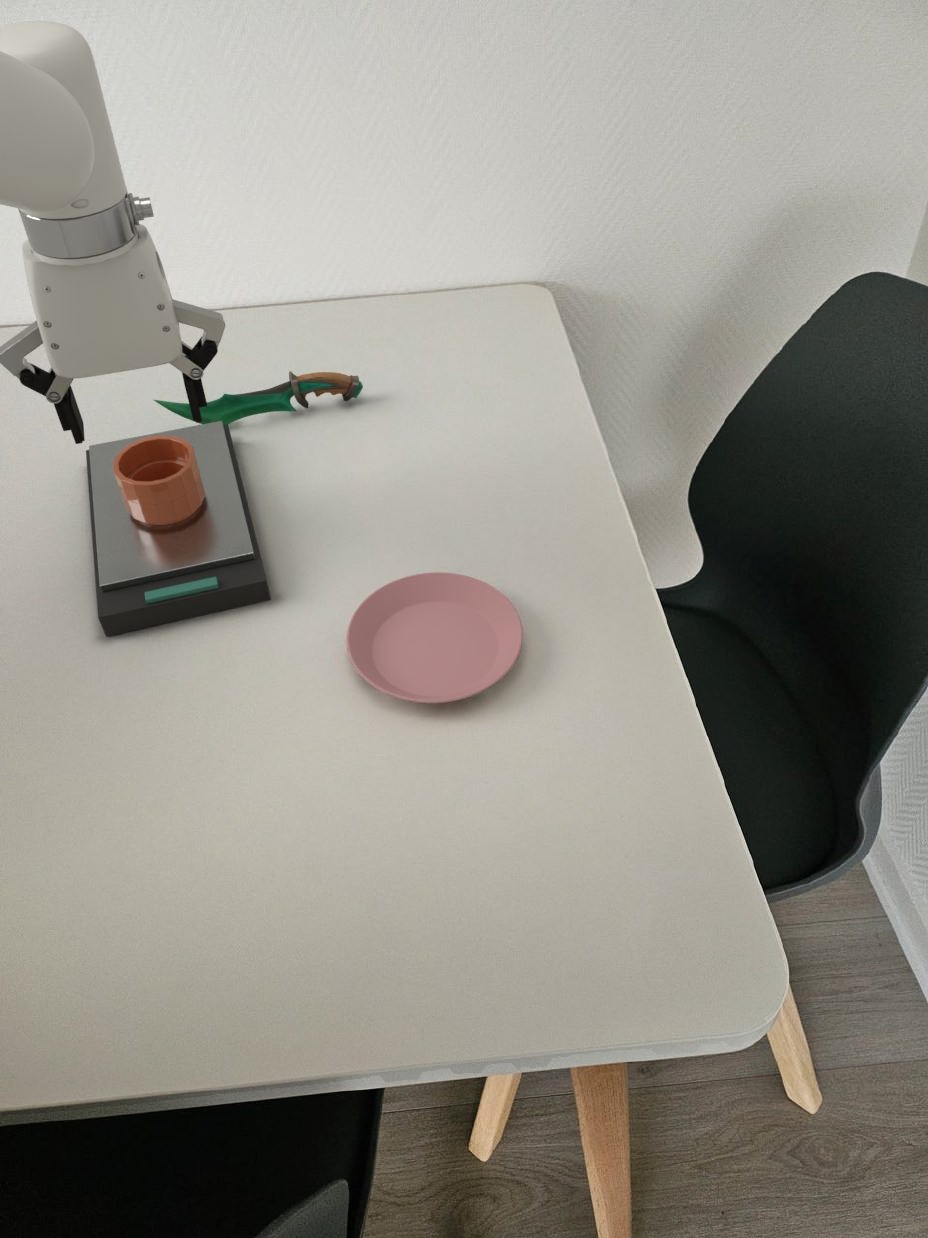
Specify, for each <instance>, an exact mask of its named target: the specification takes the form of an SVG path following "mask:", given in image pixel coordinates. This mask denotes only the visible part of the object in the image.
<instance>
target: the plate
mask: <svg viewBox="0 0 928 1238" xmlns="http://www.w3.org/2000/svg"><path fill="white" fill-rule="evenodd" d="M523 640H524V630H523V624H522V620H521V617H520V614H519V612H518V611H517V609H516V608H515V606H514V605H513V604H512V602H511V601H510V599H508V597H506V596H505V595H504V593H502V592H501V591H500V590H498V589H496V588H495V587H494V586H492V585H490V584H488V583H487V582H484V581H482V580H480V579H477V578H475V577H473V576H472V577H471V576H468V575H465V574H460V573H454V572H443V571H442V572H440V571H439V572H438V571H437V572H422V573H416V574H412V575H407V576H404V577H401V578H398V579H396V580H393V581H390V582H389V583H387V584H385V585H383V586H380V587H379V588H378V589H376V590H375V591H374V592H372V593H371V594H370V595H369V596H367V597H366V598H365V599H364V600H363V601H362V602H361V603H360V604H359V605H358V607H357V608H356V610H355V611H354V613H353V615H352V616H351V618H350V621H349V623H348V627H347V631H346V649H347V650H346V651H347V654H348V657H349V660H350V662H351V664H352V666H353V667H354V669H355V671H356V672H357V673H358V675H360V677H362V679H363V680H364V681H366V682H367V683H368V684H369V685H370V686H372V687H374V689H376V690H377V691H380V692H382V693H383V694H385V695H388V696H391V697H393V698H396V699H399V700H402V701H407V702H412V703H419V704H444V703H451V702H457V701H461V700H466V699H468V698H471V697H473V696H476V695H478V694H480V693H483V692H485V691H486V690H488V689H490V688H491V687H493V686H494V685H495V684H498V682H500V681H501V680H502V679H503V678H504V677H506V675H507V674H508V673H509V672H510V671H511V669H512V668H513V666H514V665H515V663H516V662H517V660H518V658H519V656H520V654H521V650H522V647H523V642H524V641H523Z"/></svg>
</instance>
